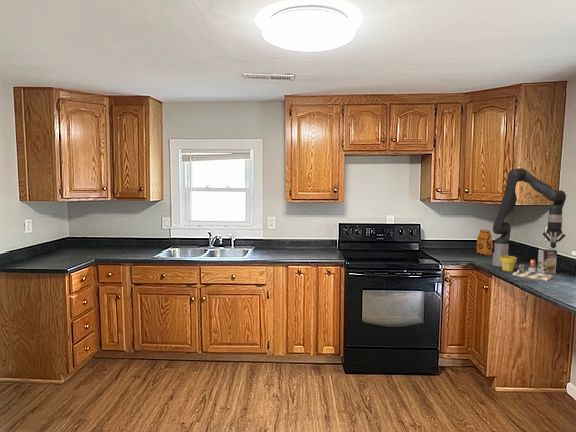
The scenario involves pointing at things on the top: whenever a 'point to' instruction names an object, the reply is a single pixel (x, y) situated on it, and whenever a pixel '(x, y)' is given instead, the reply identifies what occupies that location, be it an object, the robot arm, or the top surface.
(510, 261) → the plant pot
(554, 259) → the coffee box
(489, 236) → the coffee package
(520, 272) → the beige wooden board
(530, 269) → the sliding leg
